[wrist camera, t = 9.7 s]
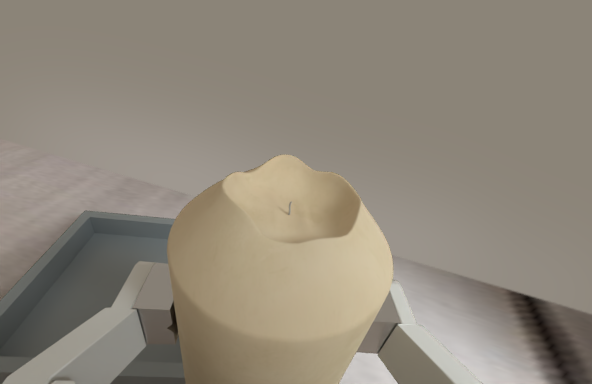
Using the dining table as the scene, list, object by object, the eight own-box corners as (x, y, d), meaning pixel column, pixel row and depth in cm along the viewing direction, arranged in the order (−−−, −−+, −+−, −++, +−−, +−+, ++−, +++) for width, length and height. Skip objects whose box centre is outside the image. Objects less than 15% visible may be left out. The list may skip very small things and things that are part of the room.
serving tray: (232, 244, 29) (233, 224, 28) (199, 397, 18) (198, 378, 16) (92, 232, 28) (85, 210, 26) (-38, 392, 16) (-66, 370, 15)
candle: (172, 479, 9) (102, 288, 4) (201, 319, 14) (190, 124, 8) (334, 462, 10) (479, 291, 4) (311, 318, 15) (369, 143, 9)
